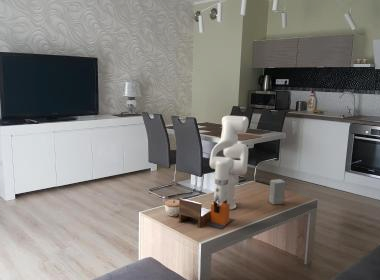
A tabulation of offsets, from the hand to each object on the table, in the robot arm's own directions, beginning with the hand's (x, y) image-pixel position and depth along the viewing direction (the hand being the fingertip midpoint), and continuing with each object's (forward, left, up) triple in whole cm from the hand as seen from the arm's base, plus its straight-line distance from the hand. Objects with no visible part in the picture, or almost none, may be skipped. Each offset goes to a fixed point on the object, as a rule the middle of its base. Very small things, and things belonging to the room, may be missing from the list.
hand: (220, 209), depth 210 cm
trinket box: (+6, -29, -8) cm, 30 cm away
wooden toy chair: (+6, -13, -8) cm, 16 cm away
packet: (0, 0, -7) cm, 7 cm away
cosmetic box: (-52, +17, -8) cm, 55 cm away
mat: (0, 0, -8) cm, 8 cm away
